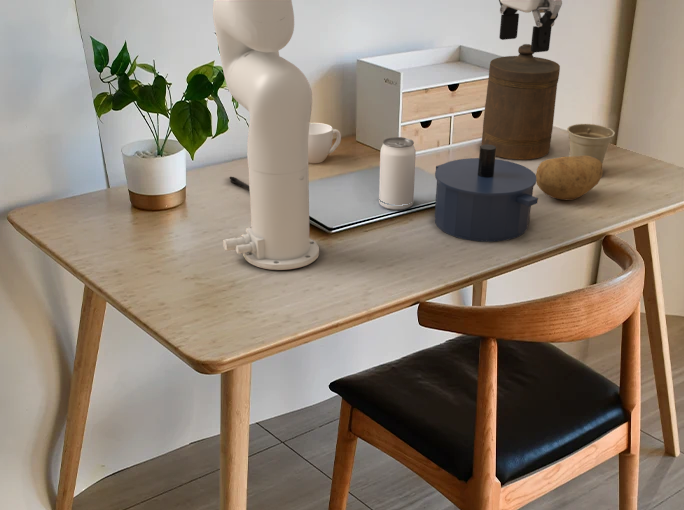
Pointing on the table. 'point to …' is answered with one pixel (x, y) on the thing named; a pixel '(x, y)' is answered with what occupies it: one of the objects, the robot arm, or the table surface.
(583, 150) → the flower pot
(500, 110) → the wooden container
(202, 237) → the table surface
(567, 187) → the potato
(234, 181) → the pen
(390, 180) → the can
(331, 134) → the cup
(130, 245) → the table surface
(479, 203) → the pot
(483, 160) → the lid
